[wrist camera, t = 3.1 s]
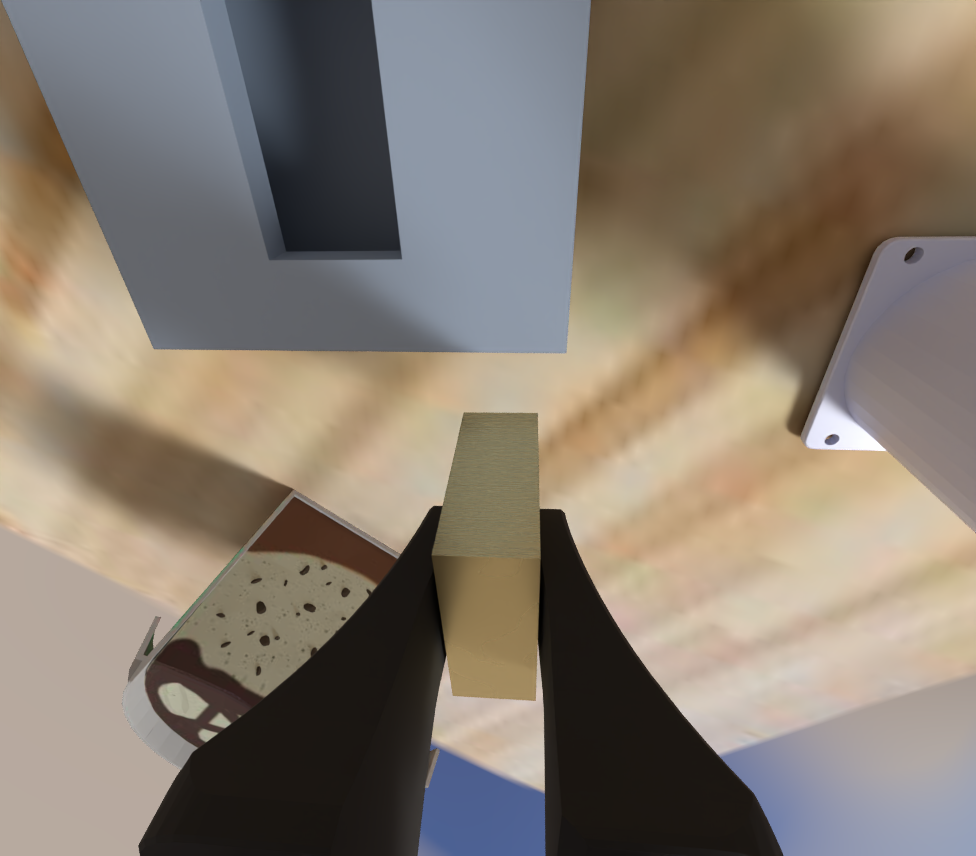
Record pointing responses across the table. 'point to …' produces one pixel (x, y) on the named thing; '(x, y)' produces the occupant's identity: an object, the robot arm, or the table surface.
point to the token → (491, 557)
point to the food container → (253, 627)
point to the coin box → (326, 165)
